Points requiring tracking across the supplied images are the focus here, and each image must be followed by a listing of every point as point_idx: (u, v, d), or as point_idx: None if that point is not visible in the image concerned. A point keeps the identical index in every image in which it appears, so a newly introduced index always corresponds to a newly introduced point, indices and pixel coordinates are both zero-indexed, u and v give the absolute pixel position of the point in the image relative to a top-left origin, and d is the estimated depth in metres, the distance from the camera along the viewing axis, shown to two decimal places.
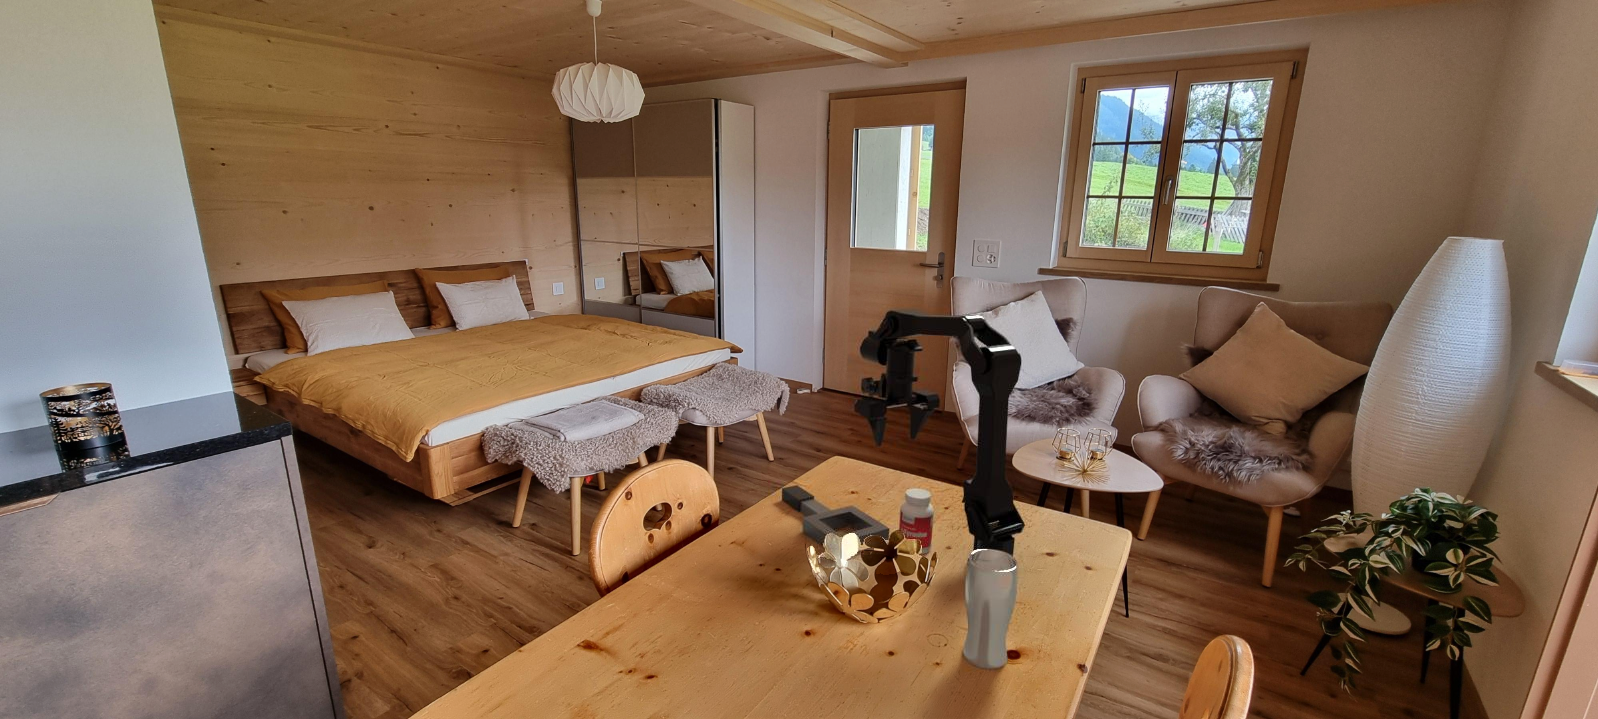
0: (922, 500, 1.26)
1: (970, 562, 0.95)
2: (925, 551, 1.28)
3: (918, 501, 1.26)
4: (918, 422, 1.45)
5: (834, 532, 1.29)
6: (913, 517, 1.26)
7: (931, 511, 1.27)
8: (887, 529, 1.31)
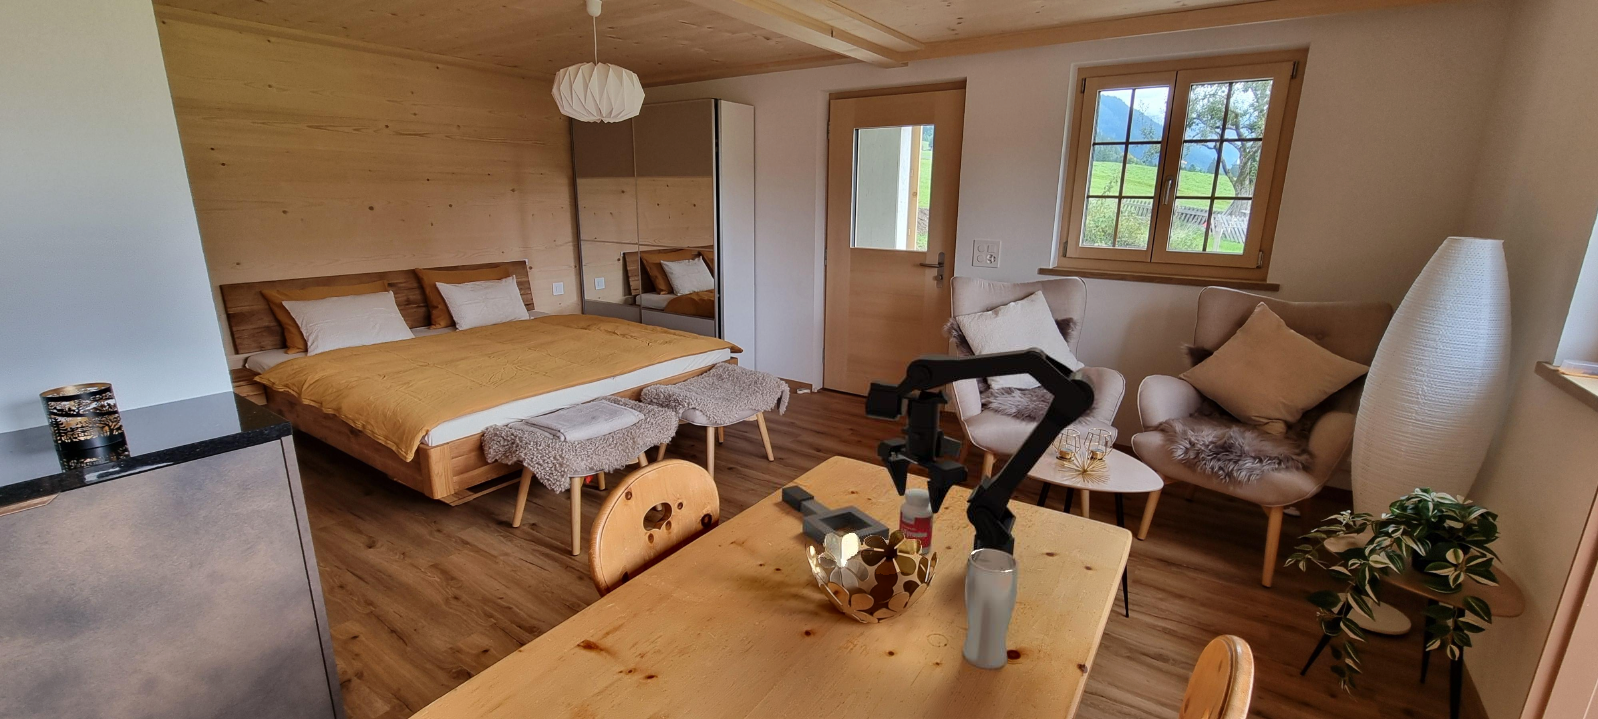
0: (922, 500, 1.26)
1: (970, 562, 0.95)
2: (925, 551, 1.28)
3: (918, 501, 1.26)
4: None
5: (834, 532, 1.29)
6: (913, 517, 1.26)
7: (931, 511, 1.27)
8: (887, 529, 1.31)
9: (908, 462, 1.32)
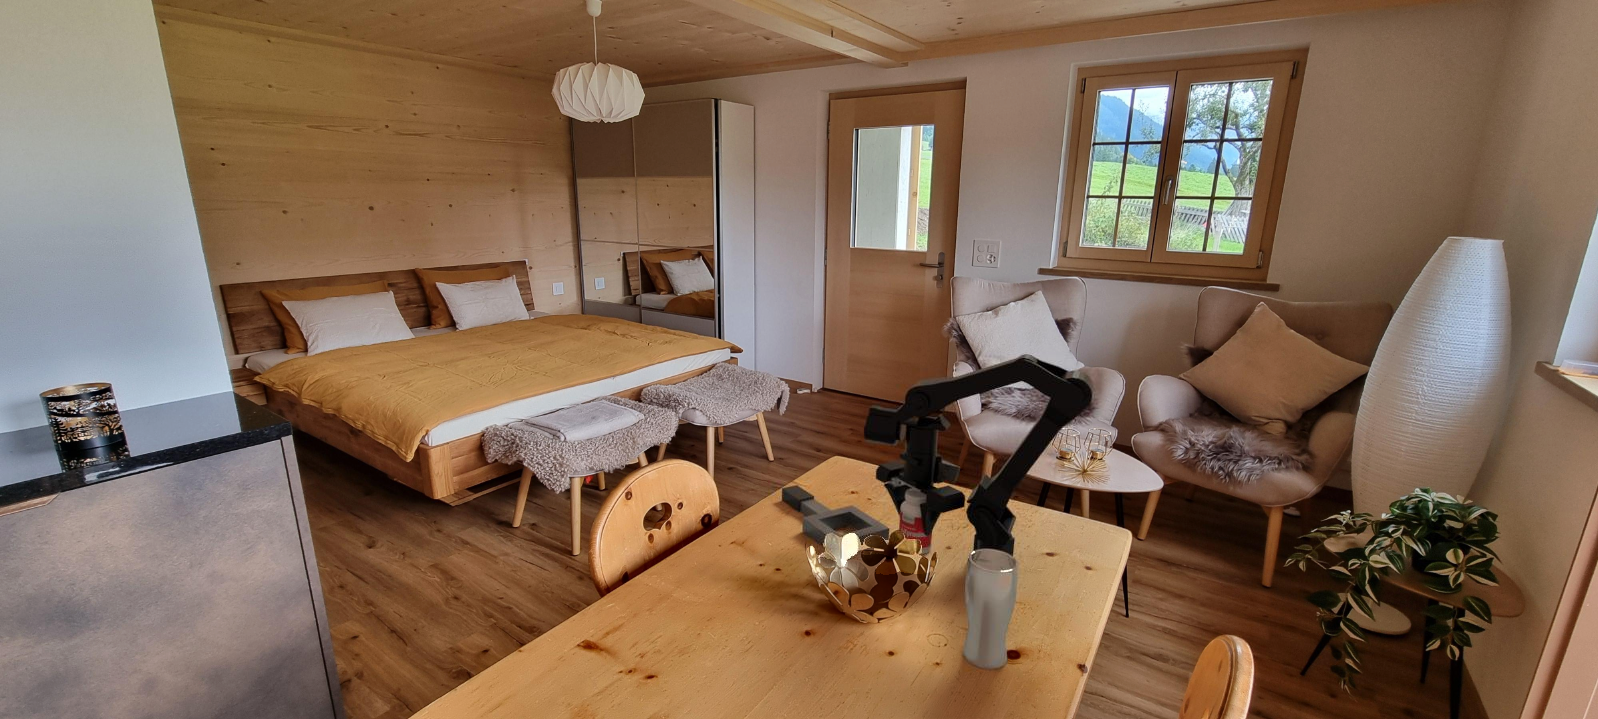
0: (922, 500, 1.26)
1: (970, 562, 0.95)
2: (925, 551, 1.28)
3: (918, 501, 1.26)
4: None
5: (834, 532, 1.29)
6: (913, 516, 1.26)
7: None
8: (887, 529, 1.31)
9: (911, 488, 1.32)
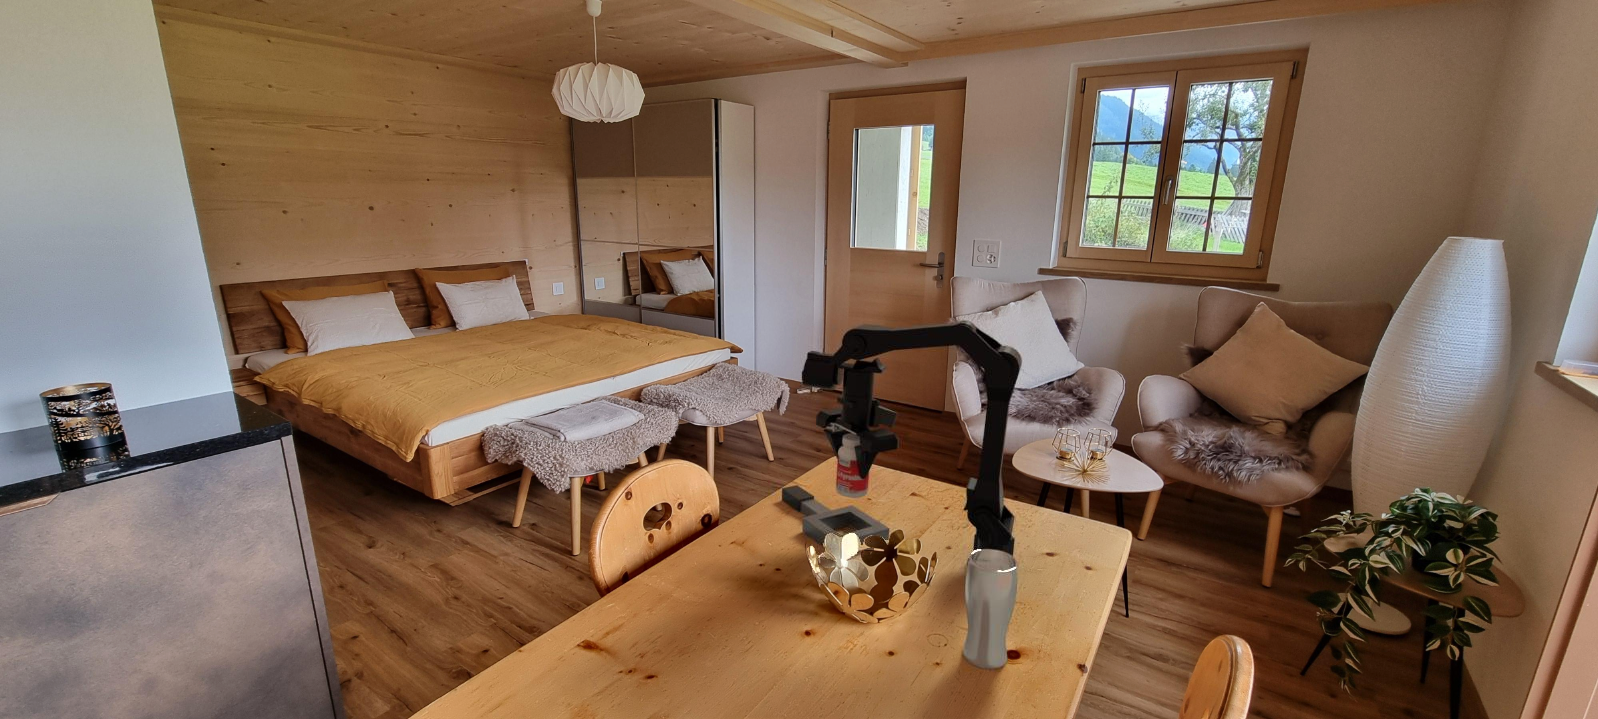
0: (858, 443, 1.27)
1: (970, 562, 0.95)
2: (861, 494, 1.29)
3: (854, 444, 1.27)
4: None
5: (834, 532, 1.29)
6: (849, 459, 1.27)
7: None
8: (887, 529, 1.31)
9: None
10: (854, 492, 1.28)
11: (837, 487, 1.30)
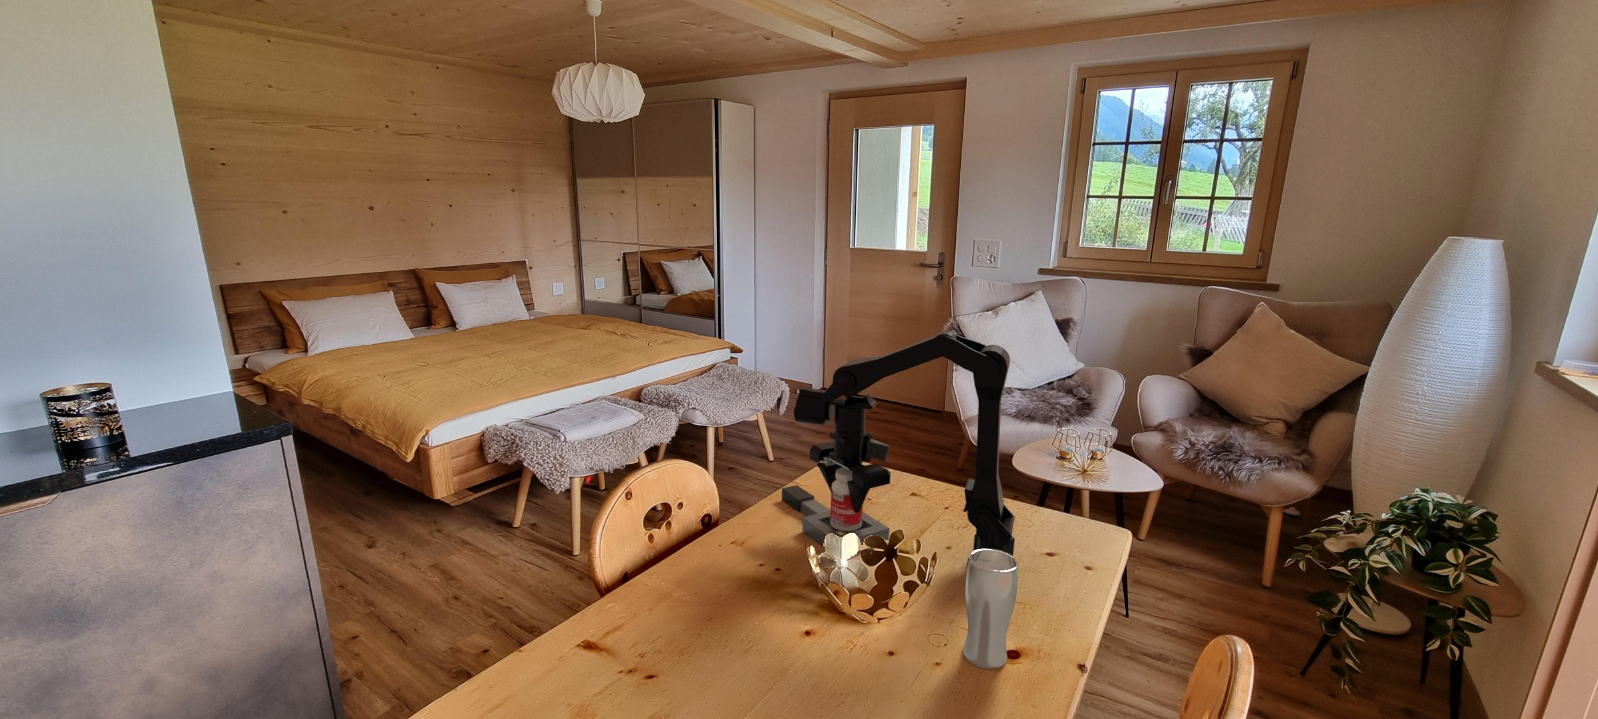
0: (851, 478, 1.29)
1: (970, 562, 0.95)
2: (855, 528, 1.31)
3: (847, 478, 1.29)
4: None
5: (834, 532, 1.29)
6: (842, 494, 1.29)
7: None
8: (887, 529, 1.31)
9: (843, 467, 1.35)
10: (847, 526, 1.30)
11: (831, 521, 1.32)
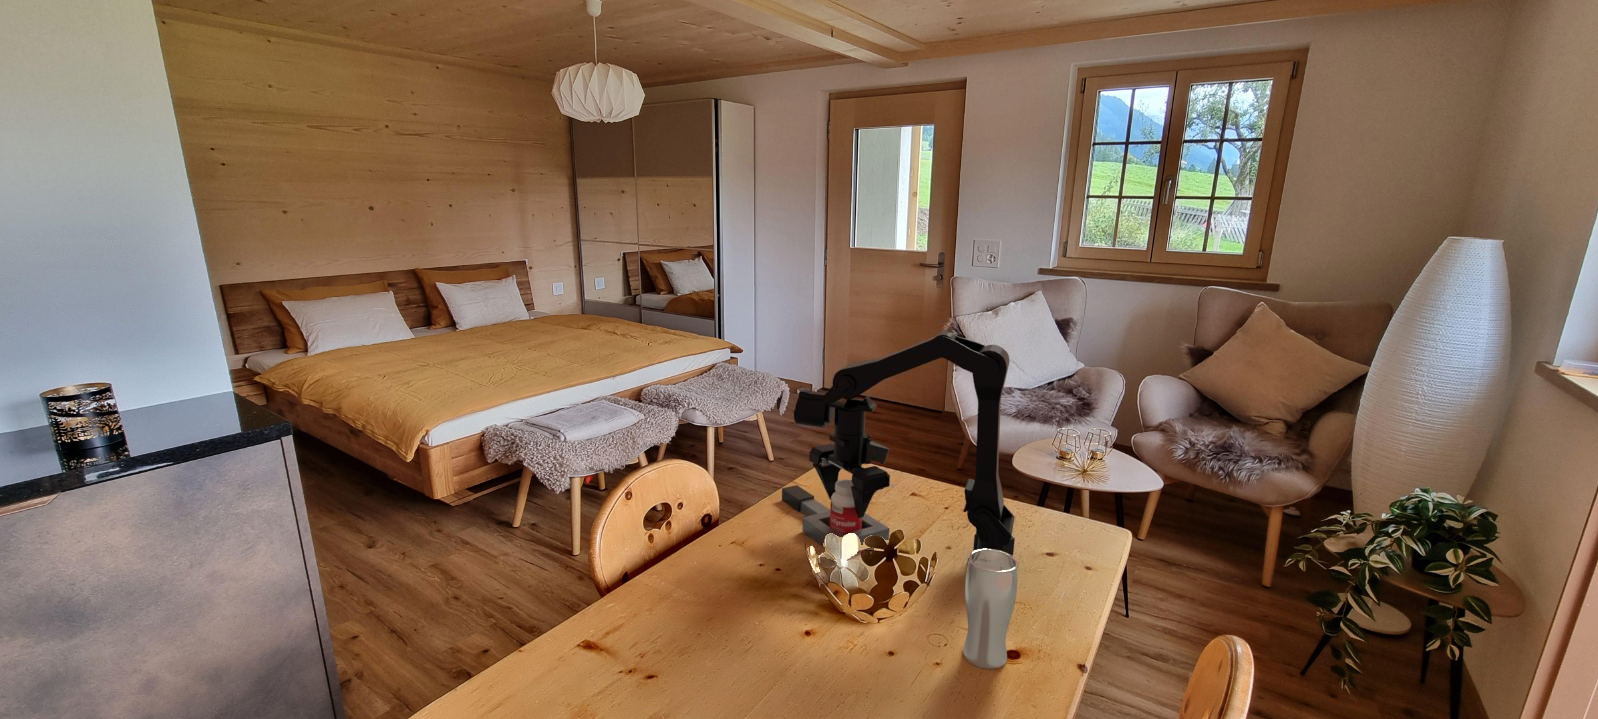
0: (850, 490, 1.29)
1: (970, 562, 0.95)
2: None
3: (847, 491, 1.29)
4: None
5: (834, 532, 1.29)
6: (841, 506, 1.30)
7: None
8: (887, 529, 1.31)
9: (839, 467, 1.36)
10: None
11: None
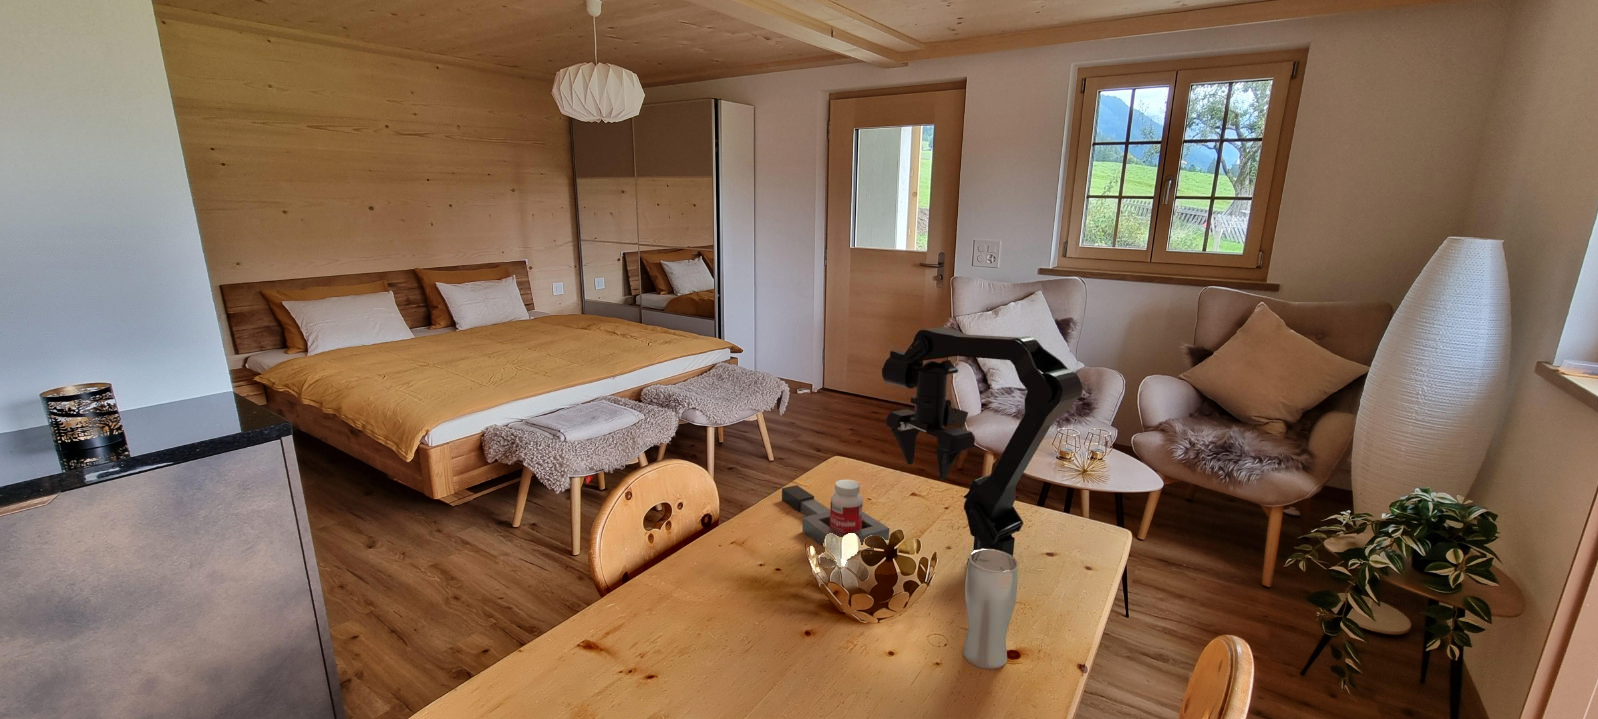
0: (850, 490, 1.29)
1: (970, 562, 0.95)
2: None
3: (847, 491, 1.29)
4: None
5: (834, 532, 1.29)
6: (841, 506, 1.30)
7: (859, 501, 1.30)
8: (887, 529, 1.31)
9: (916, 432, 1.38)
10: None
11: None
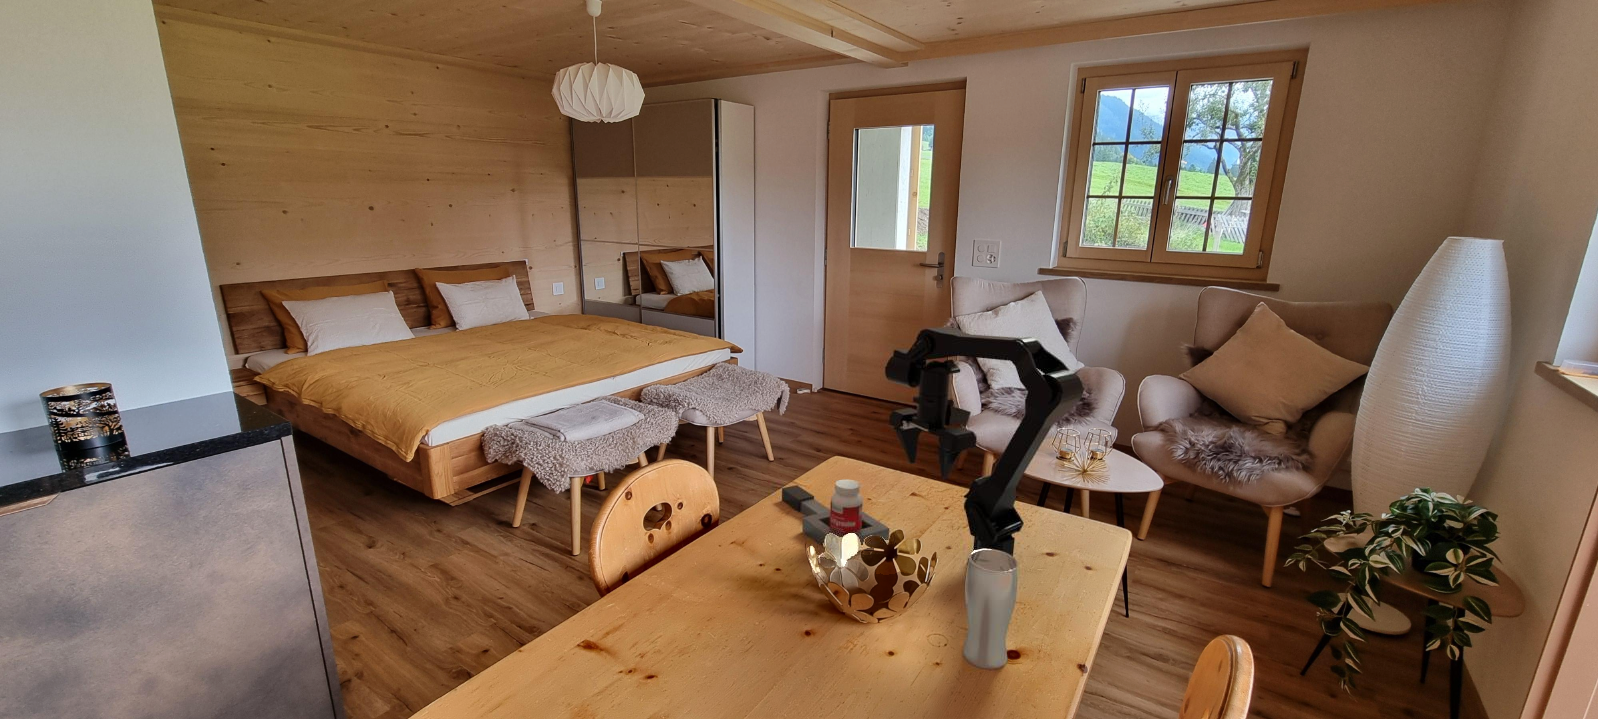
0: (850, 490, 1.29)
1: (970, 562, 0.95)
2: None
3: (847, 491, 1.29)
4: None
5: (834, 532, 1.29)
6: (841, 506, 1.30)
7: (859, 501, 1.30)
8: (887, 529, 1.31)
9: (919, 431, 1.38)
10: None
11: None
